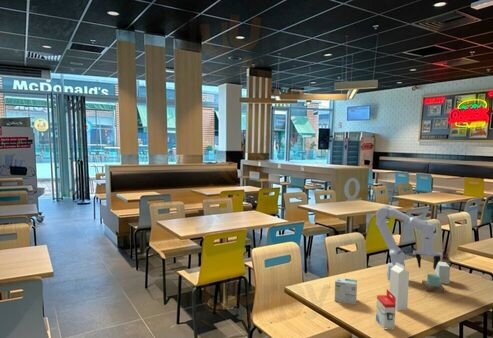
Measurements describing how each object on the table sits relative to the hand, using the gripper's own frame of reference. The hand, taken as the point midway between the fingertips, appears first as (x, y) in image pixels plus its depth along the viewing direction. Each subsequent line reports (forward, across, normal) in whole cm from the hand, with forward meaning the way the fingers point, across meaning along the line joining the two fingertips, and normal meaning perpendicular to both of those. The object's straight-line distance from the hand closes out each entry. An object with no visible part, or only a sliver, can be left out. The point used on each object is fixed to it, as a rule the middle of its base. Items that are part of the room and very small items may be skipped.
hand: (426, 268), depth 191 cm
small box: (+11, +10, +10) cm, 18 cm away
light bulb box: (+10, -44, -32) cm, 56 cm away
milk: (+11, -19, -32) cm, 39 cm away
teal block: (+8, +3, -3) cm, 9 cm away
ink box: (+11, -27, -51) cm, 59 cm away
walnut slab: (+11, +3, -3) cm, 12 cm away
